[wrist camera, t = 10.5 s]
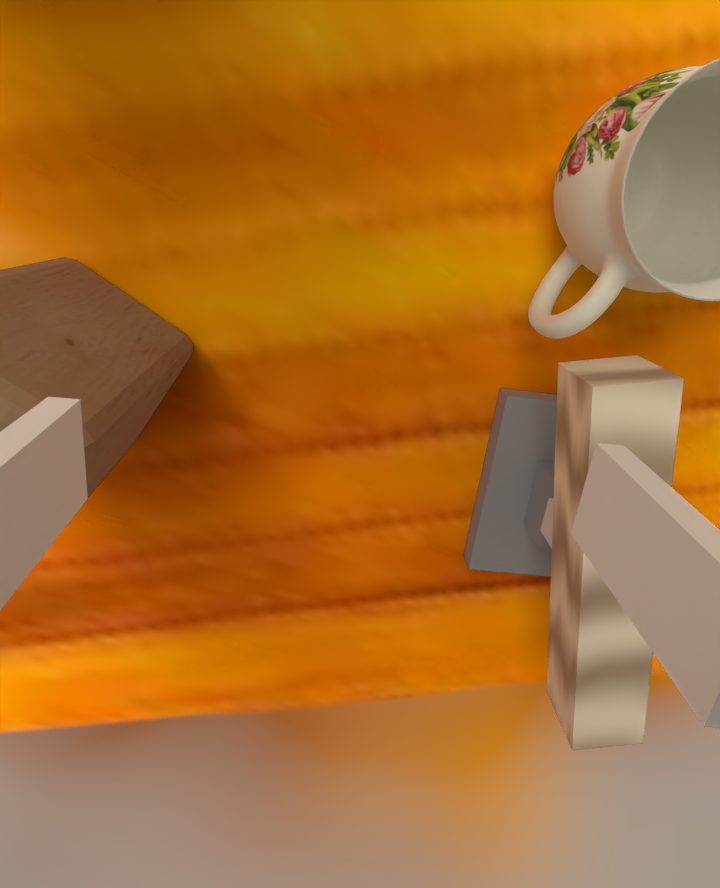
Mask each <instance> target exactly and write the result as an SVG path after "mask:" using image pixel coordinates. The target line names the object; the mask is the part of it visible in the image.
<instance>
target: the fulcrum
mask: <svg viewBox="0 0 720 888" xmlns="http://www.w3.org/2000/svg"><path fill="white" fill-rule="evenodd" d="M556 413H557V394H548V393H540V392H531V391H523V390H514V389H505V388H500V391H499V395H498V400H497V405H496V409H495V414H494V418H493V423H492V427H491V432H490V437H489V441H488V446H487V450H486V455H485V460H484V464H483V469H482V473H481V478H480V482H479V487H478V492H477V496H476V501H475V505H474V510H473V515H472V519H471V524H470V528H469V533H468V537H467V542H466V547H465V551H464V558H465V561H466V563H467V566H468V569H471V570H482V571H493V572H505V573H516V574H527V575H538V576H549V577H551V559H552V530H553V501H554V472H555V442H556Z"/></svg>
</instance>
